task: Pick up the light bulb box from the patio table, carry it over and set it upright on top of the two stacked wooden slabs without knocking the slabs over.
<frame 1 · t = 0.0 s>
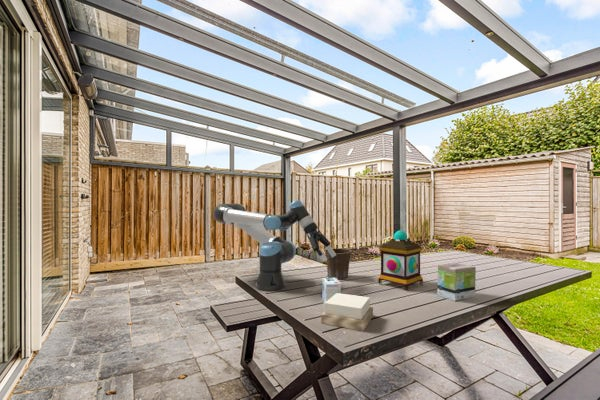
hand: (330, 258, 160), 15 cm above the table, tool tilted 35°, fingers open, 13 cm apart
tower base slab: (347, 320, 117), on the table, touching tower top slab
decorative lantern: (400, 285, 165), on the table
light bulb box: (331, 305, 133), on the table
tower top slab: (347, 310, 117), point 3 cm above the table, touching tower base slab
tea box: (456, 296, 145), on the table
plant pot: (338, 277, 181), on the table
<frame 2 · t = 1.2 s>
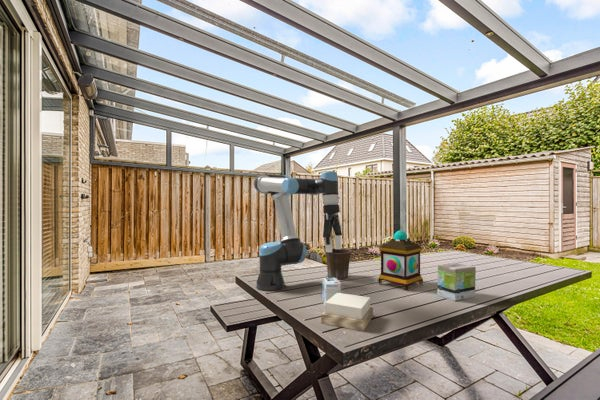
hand: (333, 250, 138), 23 cm above the table, tool pointing down, fingers open, 13 cm apart
nothing on the table moved.
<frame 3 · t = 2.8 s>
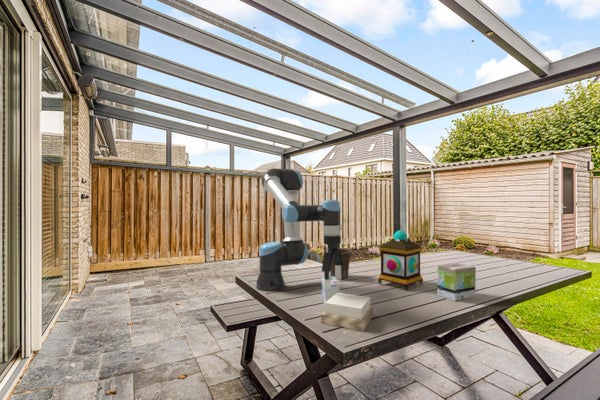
hand: (333, 283, 132), 10 cm above the table, tool pointing down, fingers open, 13 cm apart
tower base slab: (348, 320, 117), on the table
tower top slab: (348, 310, 117), point 3 cm above the table
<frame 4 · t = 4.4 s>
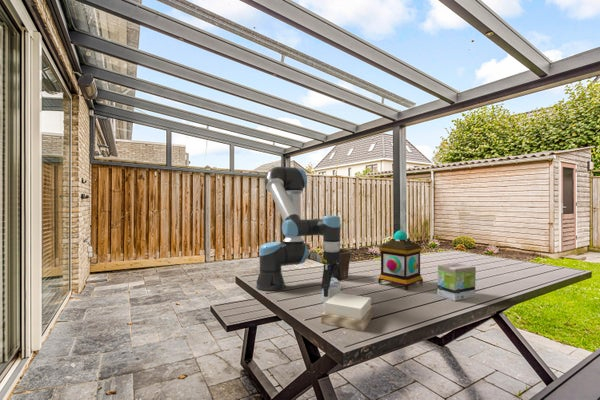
hand: (331, 299, 133), 2 cm above the table, tool pointing down, fingers closed on light bulb box, 12 cm apart
tower base slab: (348, 320, 117), on the table, touching tower top slab
light bulb box: (330, 305, 133), on the table, touching gripper
tower top slab: (348, 310, 117), point 3 cm above the table, touching tower base slab
everything else where it was.
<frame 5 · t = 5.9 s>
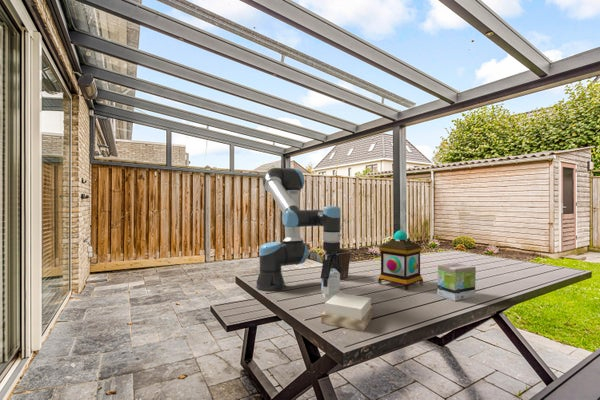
hand: (331, 289, 133), 7 cm above the table, tool pointing down, fingers closed on light bulb box, 12 cm apart
light bulb box: (330, 295, 133), point 4 cm above the table, touching gripper
everything else where it was.
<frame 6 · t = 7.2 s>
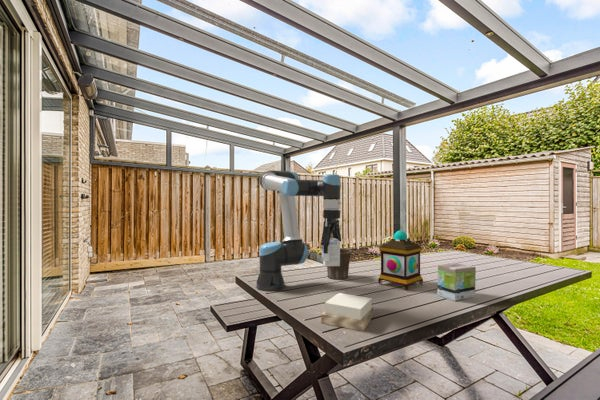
hand: (331, 258, 133), 21 cm above the table, tool pointing down, fingers closed on light bulb box, 12 cm apart
light bulb box: (330, 264, 133), point 18 cm above the table, touching gripper
everything else where it was.
when the fingers open (12 cm above the table, at t = 12.0 s): light bulb box drops 2 cm, resting on tower top slab.
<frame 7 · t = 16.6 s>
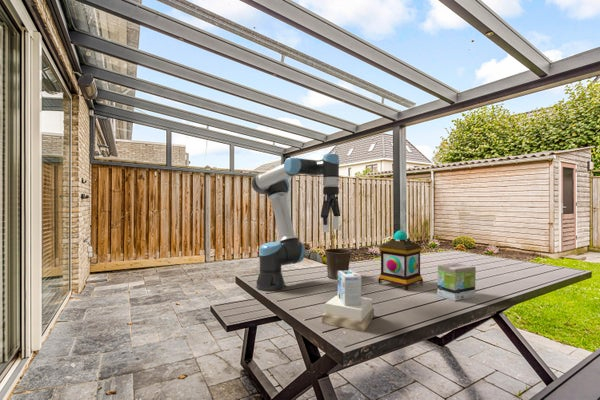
hand: (330, 230, 143), 32 cm above the table, tool pointing down, fingers open, 13 cm apart
light bulb box: (349, 301, 117), point 7 cm above the table, touching tower top slab
tower top slab: (349, 311, 116), point 3 cm above the table, touching light bulb box, tower base slab
everything else where it was.
at the end: light bulb box inside the target area on the tower top slab (0.4 cm from its centre), point 3.8 cm above the tower top slab's base; tower top slab 0.3 cm off-centre on the tower base slab, point 4.0 cm above the tower base slab's base; light bulb box tilted 0° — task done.
